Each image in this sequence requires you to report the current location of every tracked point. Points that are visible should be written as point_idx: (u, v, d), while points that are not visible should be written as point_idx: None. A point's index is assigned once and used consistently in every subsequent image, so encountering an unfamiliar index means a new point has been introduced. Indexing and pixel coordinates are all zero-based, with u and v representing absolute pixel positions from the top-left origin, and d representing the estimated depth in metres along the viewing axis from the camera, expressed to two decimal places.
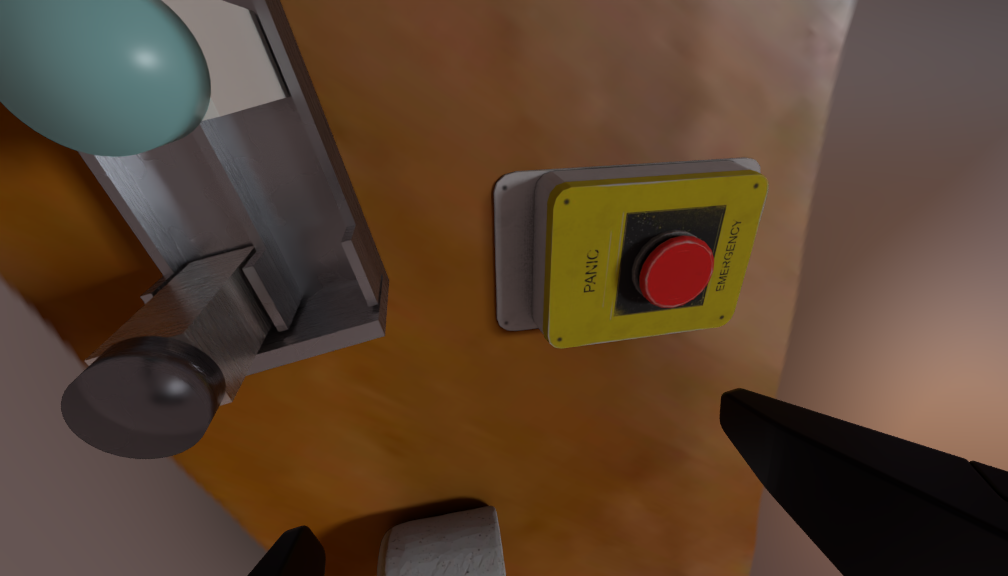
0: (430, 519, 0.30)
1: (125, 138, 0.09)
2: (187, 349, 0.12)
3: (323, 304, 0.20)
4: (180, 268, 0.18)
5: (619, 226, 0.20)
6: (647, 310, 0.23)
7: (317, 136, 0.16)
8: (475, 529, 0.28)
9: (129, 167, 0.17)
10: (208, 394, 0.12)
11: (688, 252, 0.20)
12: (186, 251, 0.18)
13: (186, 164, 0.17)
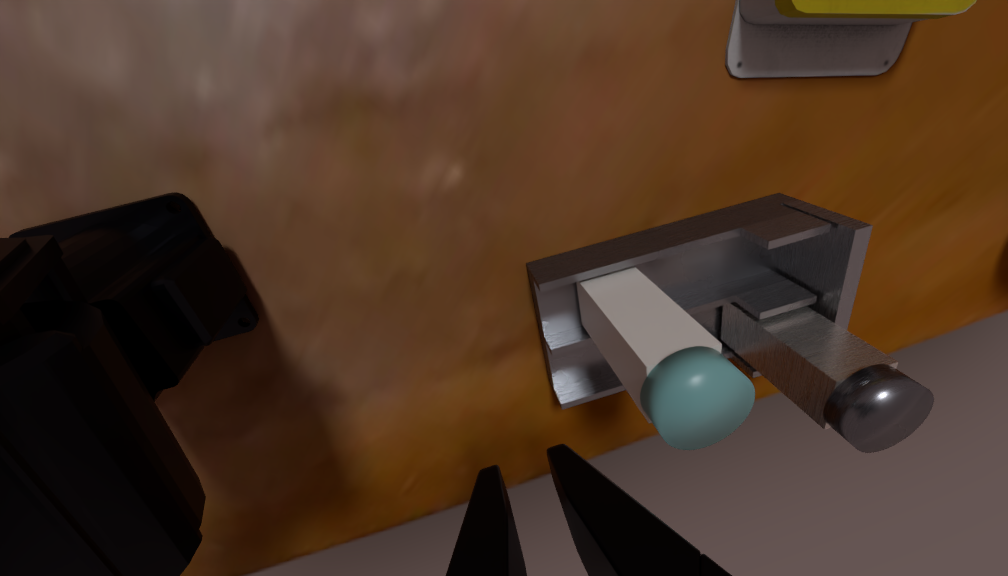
0: None
1: (745, 401, 0.14)
2: (851, 382, 0.17)
3: (794, 260, 0.22)
4: (725, 346, 0.24)
5: None
6: None
7: (668, 249, 0.20)
8: None
9: None
10: (900, 382, 0.16)
11: None
12: None
13: None
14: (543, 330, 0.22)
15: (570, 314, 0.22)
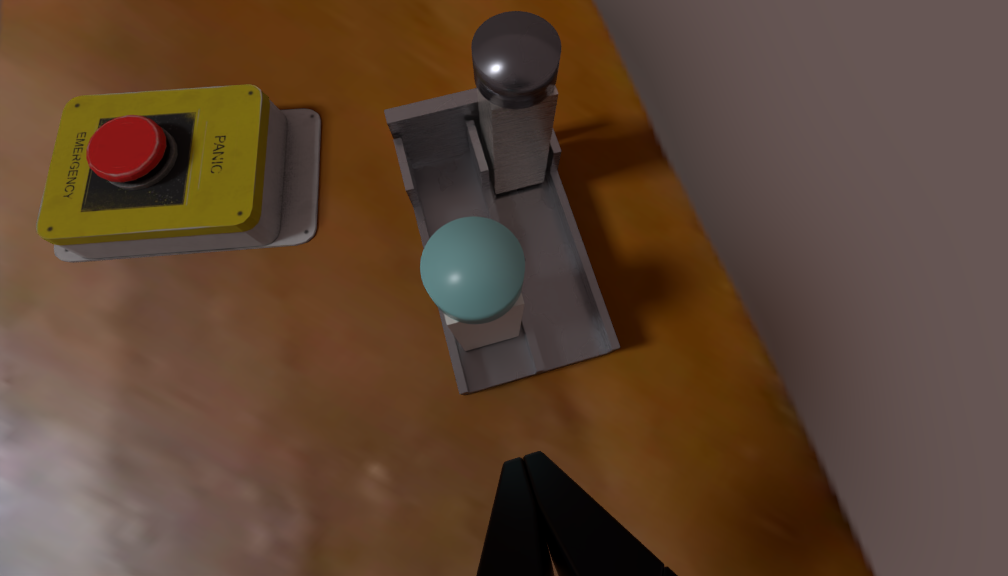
0: None
1: (462, 226, 0.14)
2: (488, 97, 0.17)
3: (448, 144, 0.24)
4: (548, 176, 0.24)
5: (190, 193, 0.23)
6: (160, 116, 0.24)
7: None
8: None
9: (568, 249, 0.23)
10: None
11: (114, 165, 0.22)
12: (546, 190, 0.24)
13: (532, 252, 0.23)
14: (528, 374, 0.21)
15: (510, 348, 0.22)
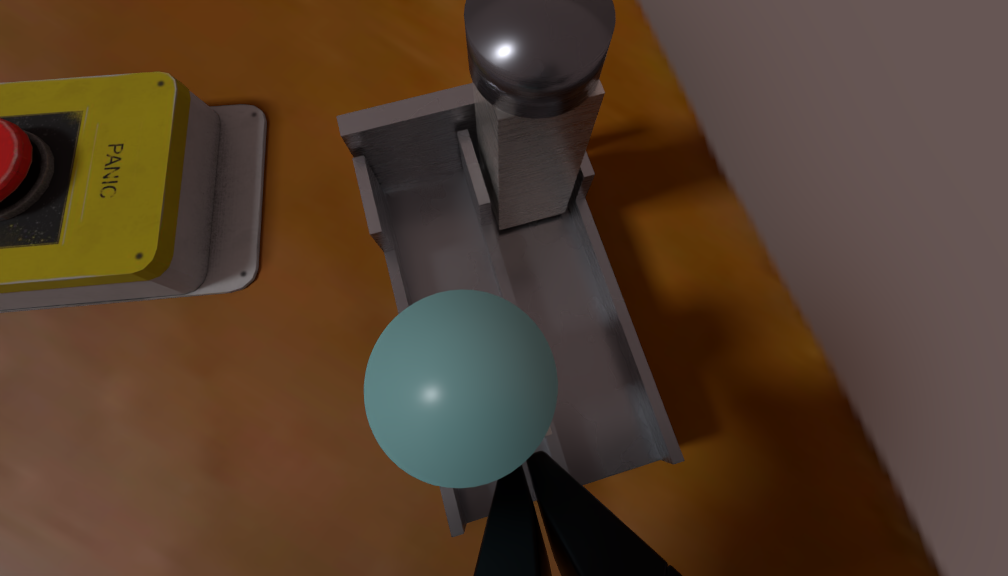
0: None
1: (442, 309, 0.08)
2: (492, 98, 0.10)
3: (433, 162, 0.17)
4: (572, 205, 0.17)
5: (68, 227, 0.16)
6: (33, 116, 0.17)
7: None
8: None
9: (601, 307, 0.17)
10: (466, 36, 0.10)
11: None
12: (568, 223, 0.18)
13: (550, 311, 0.17)
14: None
15: None
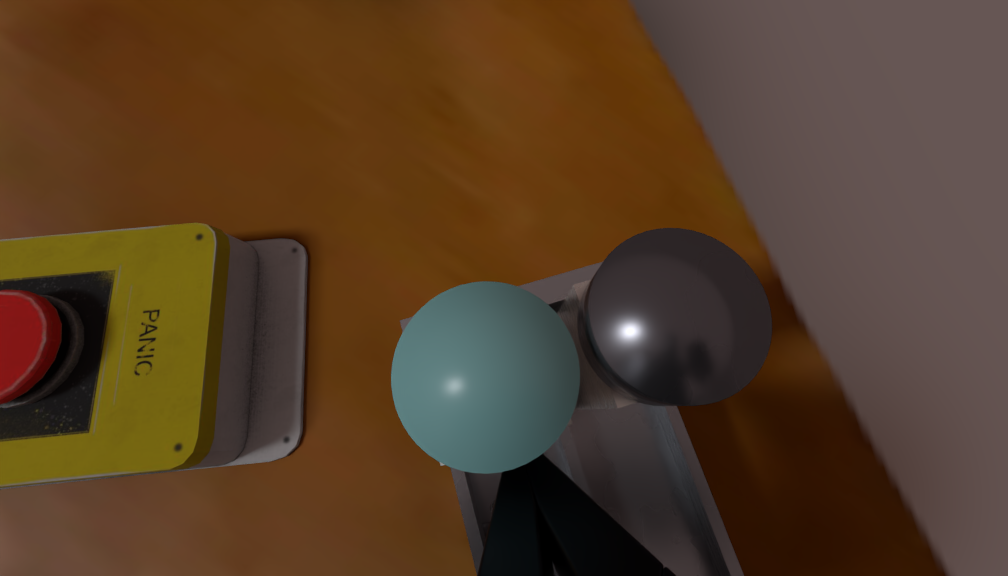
0: None
1: (466, 301, 0.08)
2: (613, 387, 0.09)
3: None
4: None
5: (100, 411, 0.14)
6: (61, 277, 0.16)
7: (478, 567, 0.13)
8: None
9: (685, 499, 0.15)
10: (588, 330, 0.08)
11: None
12: None
13: (629, 506, 0.15)
14: None
15: None
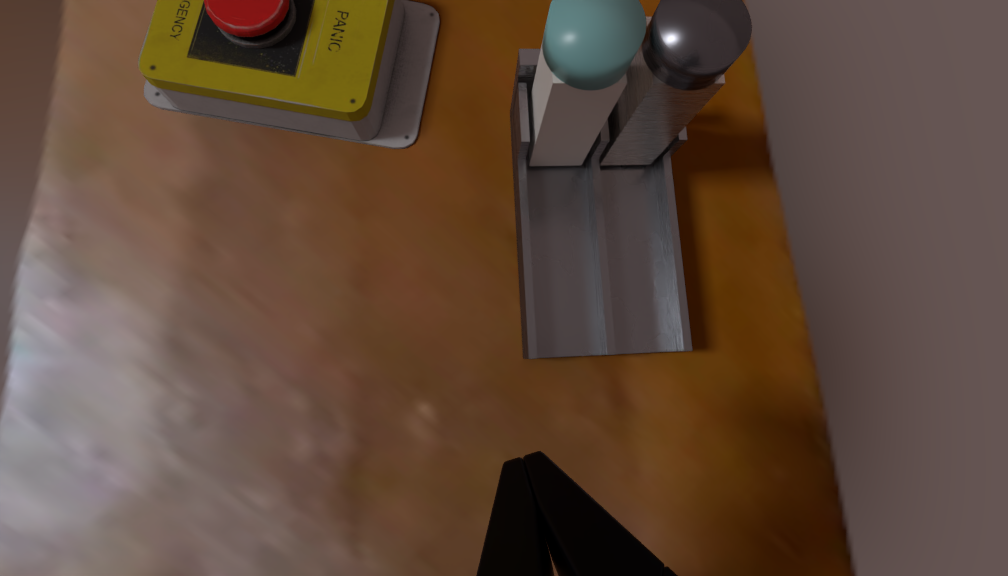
0: None
1: None
2: (654, 68, 0.16)
3: None
4: (658, 160, 0.23)
5: (303, 66, 0.21)
6: None
7: (523, 229, 0.21)
8: None
9: (659, 239, 0.23)
10: (653, 23, 0.15)
11: (233, 15, 0.20)
12: (650, 174, 0.23)
13: (622, 233, 0.23)
14: (593, 354, 0.22)
15: (581, 324, 0.22)
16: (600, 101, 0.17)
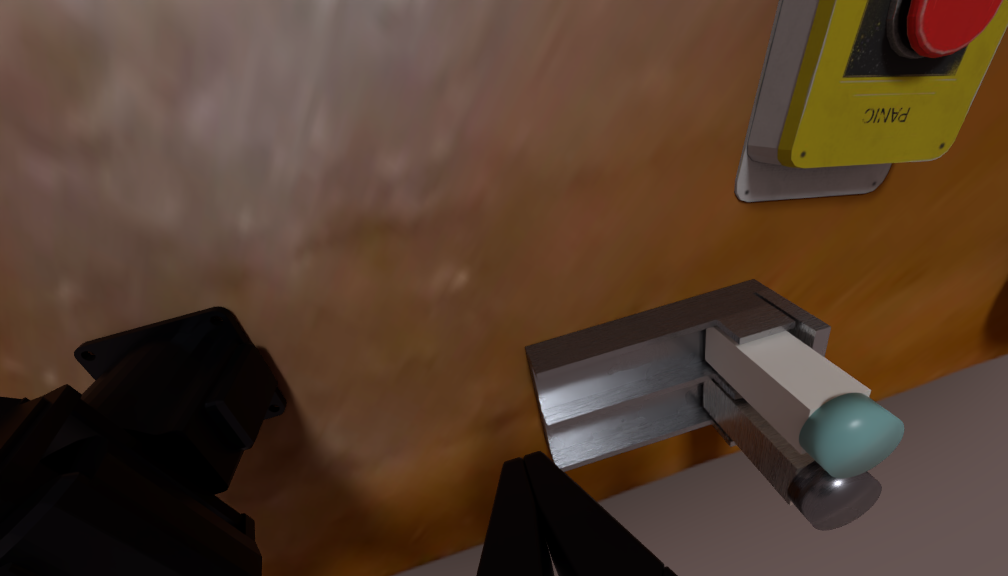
0: None
1: (895, 439, 0.17)
2: (810, 470, 0.19)
3: None
4: (706, 412, 0.27)
5: (853, 84, 0.18)
6: None
7: (651, 340, 0.22)
8: None
9: (639, 424, 0.27)
10: None
11: None
12: (693, 405, 0.27)
13: (644, 399, 0.26)
14: (540, 405, 0.25)
15: (565, 391, 0.24)
16: (782, 424, 0.20)
